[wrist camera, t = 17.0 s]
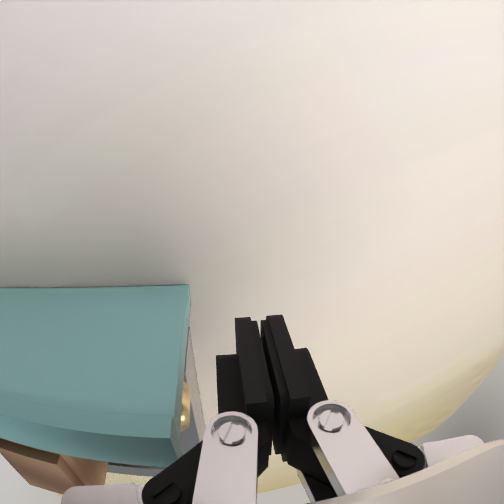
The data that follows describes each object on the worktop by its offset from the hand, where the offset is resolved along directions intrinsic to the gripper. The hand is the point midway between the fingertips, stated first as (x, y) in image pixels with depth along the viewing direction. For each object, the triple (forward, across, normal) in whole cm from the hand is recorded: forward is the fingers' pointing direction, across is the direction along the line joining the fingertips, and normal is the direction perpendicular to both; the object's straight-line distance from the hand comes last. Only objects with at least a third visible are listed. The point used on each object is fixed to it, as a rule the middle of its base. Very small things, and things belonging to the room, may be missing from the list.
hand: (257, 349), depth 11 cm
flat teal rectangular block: (+5, +10, 0) cm, 11 cm away
